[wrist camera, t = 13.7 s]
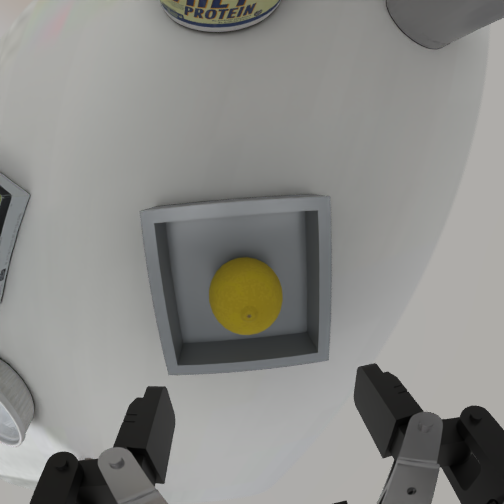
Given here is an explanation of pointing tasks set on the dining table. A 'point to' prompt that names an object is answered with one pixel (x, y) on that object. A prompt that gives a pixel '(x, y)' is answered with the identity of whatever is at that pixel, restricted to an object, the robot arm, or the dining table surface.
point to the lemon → (245, 296)
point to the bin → (228, 248)
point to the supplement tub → (218, 13)
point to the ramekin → (14, 407)
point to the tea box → (9, 221)
